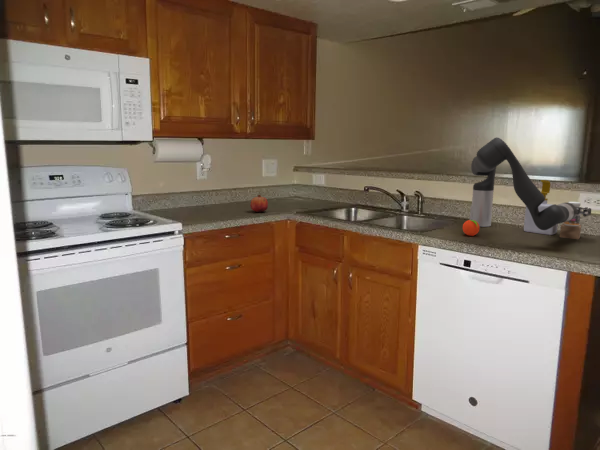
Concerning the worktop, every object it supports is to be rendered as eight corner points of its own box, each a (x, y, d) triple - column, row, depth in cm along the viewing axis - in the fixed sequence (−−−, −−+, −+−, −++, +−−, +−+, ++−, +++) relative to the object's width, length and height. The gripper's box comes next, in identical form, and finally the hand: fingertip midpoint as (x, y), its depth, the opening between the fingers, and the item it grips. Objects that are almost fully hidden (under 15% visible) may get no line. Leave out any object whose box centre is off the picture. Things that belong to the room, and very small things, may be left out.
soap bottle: (522, 231, 202) (527, 179, 198) (528, 229, 206) (533, 178, 202) (552, 235, 193) (557, 181, 189) (557, 233, 198) (563, 180, 193)
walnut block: (559, 237, 190) (560, 225, 189) (561, 234, 195) (562, 223, 194) (578, 239, 186) (580, 227, 185) (580, 236, 191) (581, 225, 190)
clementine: (483, 237, 189) (485, 221, 188) (469, 238, 188) (470, 221, 187) (472, 233, 197) (474, 217, 196) (458, 234, 196) (459, 218, 194)
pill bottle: (561, 225, 189) (564, 202, 188) (565, 223, 193) (568, 201, 192) (577, 227, 185) (579, 203, 184) (580, 225, 189) (583, 202, 188)
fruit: (272, 212, 256) (271, 195, 254) (259, 214, 249) (258, 196, 247) (259, 210, 264) (259, 193, 262) (246, 212, 256) (246, 194, 255)
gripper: (584, 205, 173) (595, 201, 184) (544, 201, 183) (557, 198, 194) (582, 224, 174) (593, 219, 185) (542, 219, 184) (555, 215, 195)
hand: (575, 208), depth 189 cm, fingers open, 8 cm apart
